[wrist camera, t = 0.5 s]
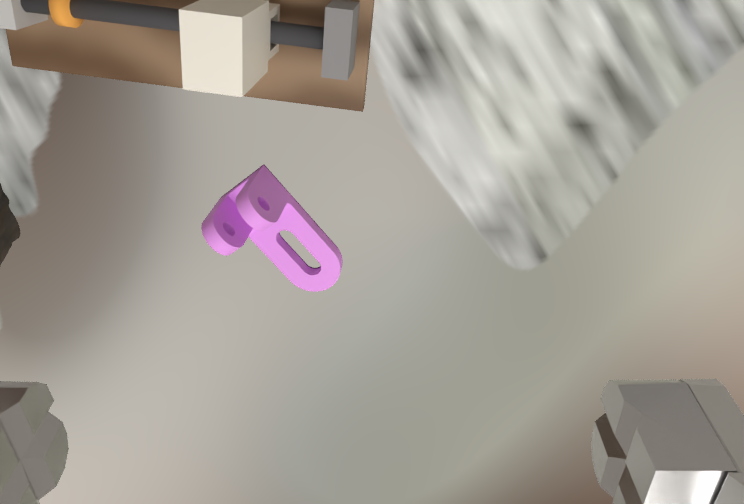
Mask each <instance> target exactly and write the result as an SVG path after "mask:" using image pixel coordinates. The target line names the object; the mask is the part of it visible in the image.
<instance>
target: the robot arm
mask: <svg viewBox="0 0 744 504" xmlns="http://www.w3.org/2000/svg"><path fill="white" fill-rule="evenodd" d="M53 402H54V400H53V397H52V395H51V393H50V391H49V389H48V386H47V384H43V383H39V382H10V381H9V382H8V381H6V382H5V381H0V504H40V503H39V499H40V498H42V497H43V496H44V495H46V494H47V493H48V492H49V491H51V490H52V489H54V488H55V487H56V486H57V484H58V482H59V480H60V477H61V475H62V473H63V471H64V468H65V464H66V459H67V454H68V440H67V433H66V430H65V427H64V425H63V422H62V421H60V420H59V419H58V418H56V417H55V416H54V415H52V414H51V413H49V412H48V410H49V409H50V407H51V405H52V403H53ZM601 402H602V404H603V407H604V410H605V412H606V413H605V414H603V415H602V416H601V417H600V418H599V419H597V420H596V421H595V424H594V428H593V433H592V438H591V441H592V459H593V464H594V470H595V473H596V476H597V479H598V482H599V485H600V487H601V488H602V489H604V490H605V491H606V492H607V493H608V494H609V495H610V496H612V497H613V498H614V500H613V503H612V504H744V415H743V413H742V412H741V410H740V408H739V407H738V405H737V404H736V403H735V401H734V399H733V398H732V396H731V395H730V393H729V392H728V390H727V389H726V387H725V386H724V385H723V384H722V383H721V382H720V381H718V380H717V379H680V380H609V381H608V383H607V384H606V386H605V387H604V390H603V393H602V397H601Z"/></svg>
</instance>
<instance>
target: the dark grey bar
mask: <svg viewBox="0 0 744 504" xmlns="http://www.w3.org/2000/svg"><path fill="white" fill-rule="evenodd" d="M359 6H360V2H358V1H350V0H332V1H331V2H330V3H329V4H328V5H327V6H326V7H325V21H324V27H318V26H310V25H302V24H294V23H286V22H278V21H271V28H270V43H274V44H282V45H290V46H298V47H306V48H314V49H322V50H323V54H322V71H321V77H323V78H331V79H338V80H346V81H348V79H349V77H350V75H351V73H352V71H353V69H354V65H355V53H356V41H357V30H358V18H359ZM48 15H51V17H52V19H53V21H54V22H55V23H56V24H57V25H59V26H65V27H72V28H78V27H79V26H81V24H82V22H83V20H84V19H85V20H93V21H101V22H109V23H117V24H125V25H132V26H140V27H148V28H156V29H164V30H172V31H180V26H179V9H175V8H167V7H159V6H151V5H143V4H135V3H127V2H119V1H111V0H0V28H3V29H11V30H19V29H22V28H25V27H28V26H31V25H34V24H37V23H40V22H43V21H46V20H48Z"/></svg>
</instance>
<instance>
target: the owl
mask: <svg viewBox="0 0 744 504" xmlns="http://www.w3.org/2000/svg"><path fill="white" fill-rule="evenodd" d="M8 205H9V199H8V197H7V196H6V195H5V193H4V192H3V190H2V187H1V184H0V265H1V263H2V261H3V260H4V258H5V256H6V255H7V253H8V251H9V249H10V247H11V246H12V242H13V241H15V240H16V239H17V238H19V236H20V229H19V225H18V222H17V220H16V218H15V216H14V215H13V213H12V212H11V211H10V208H9V206H8Z"/></svg>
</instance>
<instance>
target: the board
mask: <svg viewBox="0 0 744 504" xmlns="http://www.w3.org/2000/svg"><path fill="white" fill-rule="evenodd" d="M111 1H119V2H127V3H135V4H143V5H151V6H159V7H167V8H175V9H181V8H183V7H185V6H187V5H190V4H192V3H194V2H196V1H199V0H111ZM268 1H269V3H275V4H280V22H286V23H294V24H302V25H310V26H318V27H324V21H325V7H326V6H327V5H328V4H329V3H330V2H331V1H332V0H268ZM350 1H358V2H360V6H359V18H358V30H357V41H356V53H355V65H354V69H353V71H352V73H351V75H350V77H349V79H348V81H346V80H338V79H331V78H323V77H321V71H322V54H323V50H322V49H314V48H306V47H298V46H290V45H282V44H279V51H278V52H277V53H276V54H275V55H274V56H273V57H272V58H271V59H270V60H269V61H268V72H267V73H266V74H265V75H264V76H263V77H262V78H261V79H260V80H259V81H258V82H257V83H256V84H255V85H254V86H253V87H252V88H251V89H250V90H249V91H248V92H247V93H246V94H245V95H244V96H247V97H255V98H262V99H270V100H278V101H286V102H293V103H301V104H309V105H316V106H324V107H332V108H339V109H347V110H355V111H363V109H364V102H365V91H366V80H367V69H368V60H369V50H370V39H371V29H372V18H373V8H374V0H350ZM6 33H7V39H8V44H9V49H10V55H11V60H12V65H13V66H17V67H25V68H32V69H40V70H48V71H55V72H63V73H71V74H79V75H87V76H94V77H102V78H110V79H117V80H124V81H132V82H141V83H148V84H155V85H163V86H171V87H178V88H183V84H182V65H181V46H180V31H172V30H164V29H156V28H148V27H140V26H132V25H125V24H117V23H109V22H101V21H93V20H85V19H84V20H83V22H82V24H81V26H79V27H78V28H72V27H65V26H59V25H57V24H56V23H55V22H54V21H53V19H52V17H51V15H48V20H46V21H43V22H40V23H37V24H34V25H31V26H28V27H25V28H22V29H19V30H11V29H6Z"/></svg>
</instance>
